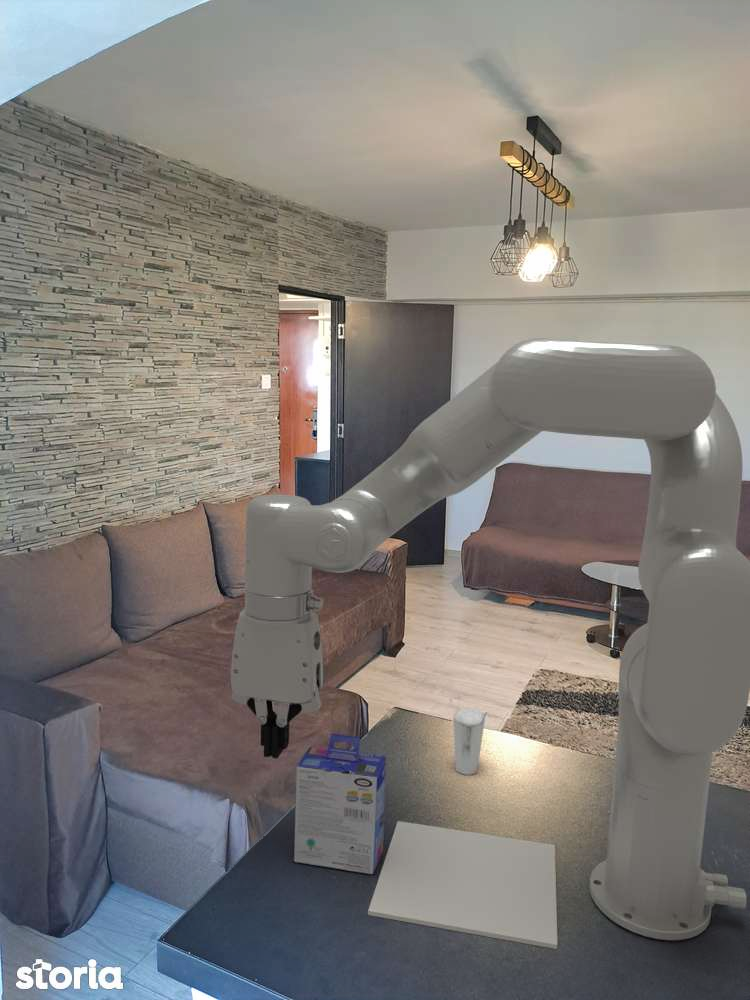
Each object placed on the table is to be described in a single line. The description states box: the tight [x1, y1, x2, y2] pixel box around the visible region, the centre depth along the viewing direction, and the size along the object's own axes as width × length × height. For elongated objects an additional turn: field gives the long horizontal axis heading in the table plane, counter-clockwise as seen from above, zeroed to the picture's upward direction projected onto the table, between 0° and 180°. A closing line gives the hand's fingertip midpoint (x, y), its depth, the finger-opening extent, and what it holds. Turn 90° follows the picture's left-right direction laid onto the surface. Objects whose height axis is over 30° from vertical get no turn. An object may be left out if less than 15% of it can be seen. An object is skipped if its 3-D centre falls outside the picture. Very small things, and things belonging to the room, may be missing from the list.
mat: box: [367, 820, 558, 950], centre depth 86 cm, size 20×17×1 cm
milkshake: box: [452, 707, 488, 776], centre depth 110 cm, size 4×5×10 cm
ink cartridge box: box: [293, 733, 387, 875], centre depth 89 cm, size 10×6×14 cm, turn 78°
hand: (274, 752), depth 90 cm, fingers closed
